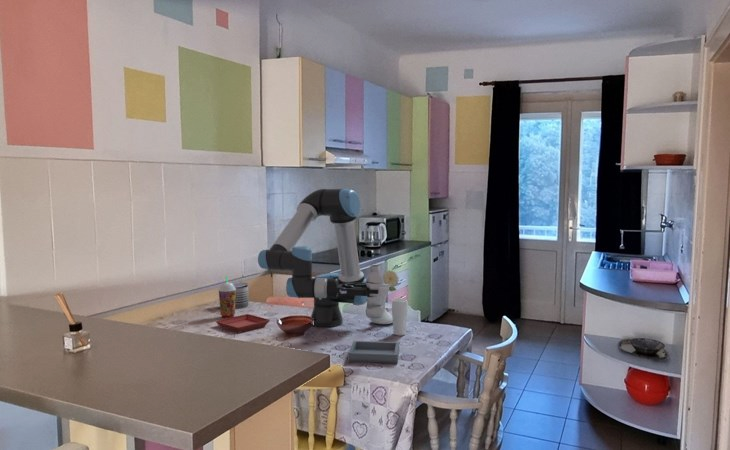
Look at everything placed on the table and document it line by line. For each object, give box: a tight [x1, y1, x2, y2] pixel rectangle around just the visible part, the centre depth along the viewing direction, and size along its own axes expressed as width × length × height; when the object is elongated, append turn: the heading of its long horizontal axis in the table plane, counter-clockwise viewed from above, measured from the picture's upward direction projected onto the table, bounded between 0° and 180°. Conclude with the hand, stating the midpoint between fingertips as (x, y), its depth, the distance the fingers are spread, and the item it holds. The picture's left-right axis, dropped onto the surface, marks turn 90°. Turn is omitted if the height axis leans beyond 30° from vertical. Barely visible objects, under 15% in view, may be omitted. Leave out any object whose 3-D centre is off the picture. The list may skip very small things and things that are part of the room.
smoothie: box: [218, 276, 236, 319], centre depth 272 cm, size 8×8×20 cm
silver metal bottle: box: [365, 264, 384, 319], centre depth 210 cm, size 6×7×20 cm
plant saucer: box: [215, 313, 271, 333], centre depth 256 cm, size 18×18×3 cm
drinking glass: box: [391, 298, 409, 337], centre depth 242 cm, size 7×7×15 cm
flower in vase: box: [370, 269, 400, 325], centre depth 261 cm, size 13×11×25 cm
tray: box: [347, 340, 400, 365], centre depth 212 cm, size 16×18×4 cm
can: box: [232, 282, 249, 310], centre depth 296 cm, size 11×11×12 cm
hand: (388, 289), depth 209 cm, fingers closed on silver metal bottle, 6 cm apart
